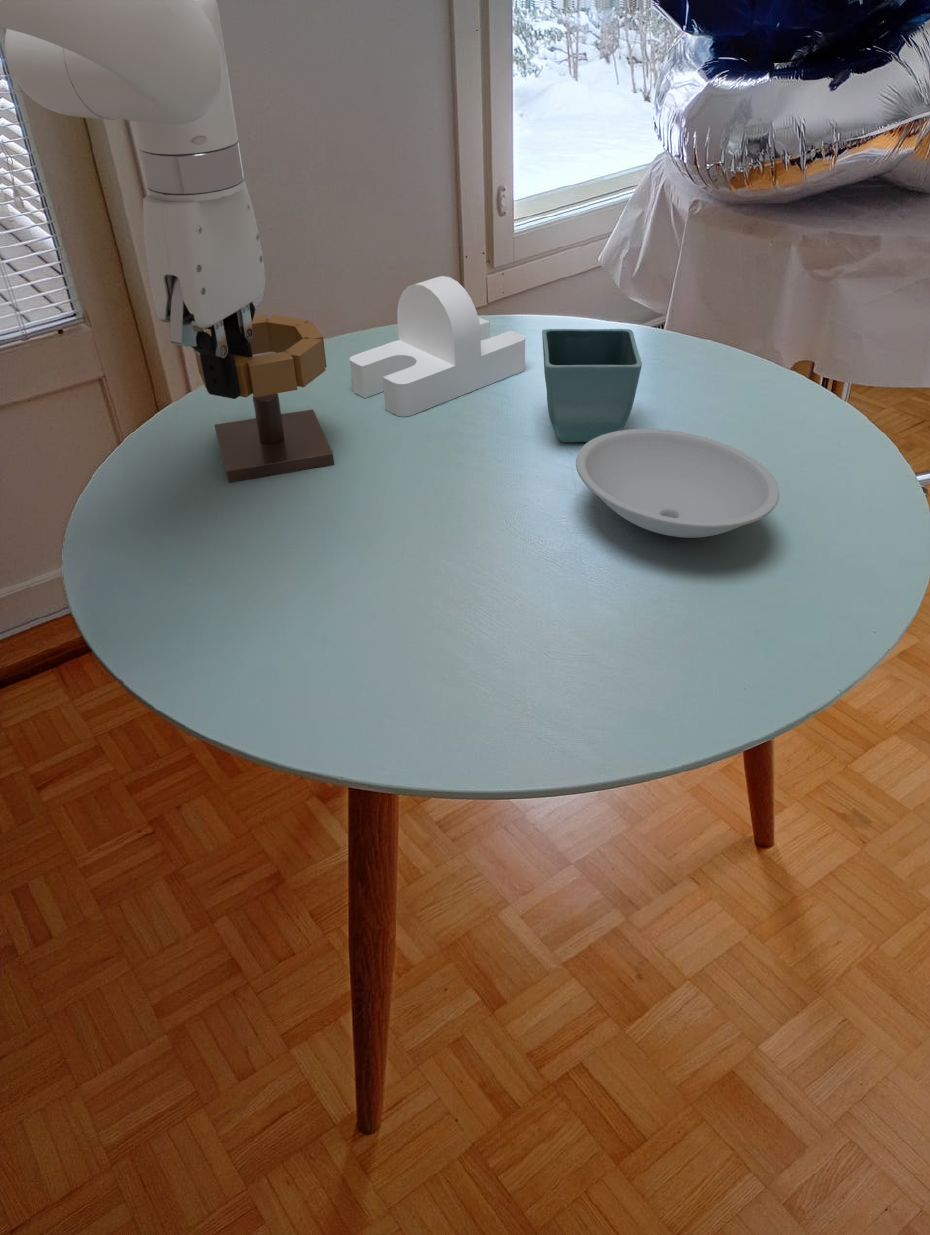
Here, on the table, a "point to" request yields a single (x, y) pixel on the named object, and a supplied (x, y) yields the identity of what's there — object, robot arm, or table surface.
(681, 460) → the dish
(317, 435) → the peg stand
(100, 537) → the table surface
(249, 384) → the segmented block ring
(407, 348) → the white slotted bracket
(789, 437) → the table surface
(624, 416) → the flower pot
